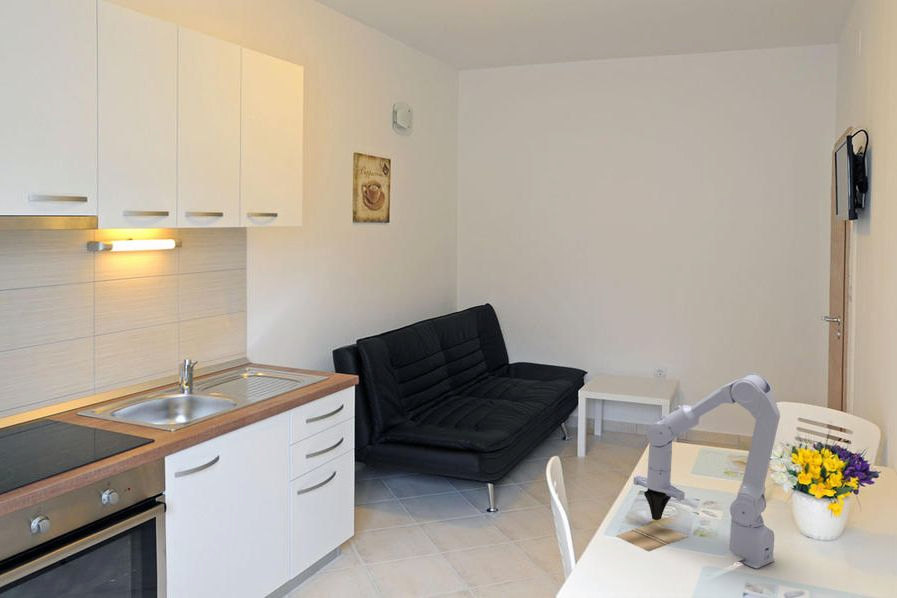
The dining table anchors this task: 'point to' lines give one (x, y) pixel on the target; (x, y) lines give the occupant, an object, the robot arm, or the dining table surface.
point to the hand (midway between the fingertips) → (656, 518)
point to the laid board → (641, 540)
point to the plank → (661, 533)
